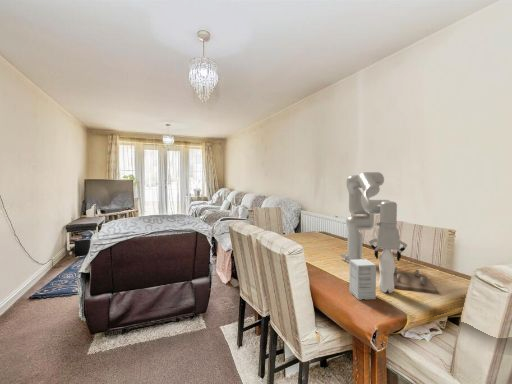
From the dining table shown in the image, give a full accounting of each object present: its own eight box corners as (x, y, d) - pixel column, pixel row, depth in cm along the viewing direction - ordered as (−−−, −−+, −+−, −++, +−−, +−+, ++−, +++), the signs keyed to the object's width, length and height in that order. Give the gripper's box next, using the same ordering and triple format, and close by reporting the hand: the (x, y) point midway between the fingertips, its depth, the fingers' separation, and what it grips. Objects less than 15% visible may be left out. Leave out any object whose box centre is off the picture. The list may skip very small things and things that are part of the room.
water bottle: (375, 288, 133) (376, 241, 131) (388, 287, 133) (389, 241, 132) (383, 294, 126) (384, 245, 124) (397, 293, 126) (398, 244, 125)
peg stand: (389, 287, 134) (389, 277, 133) (383, 272, 154) (383, 263, 154) (438, 293, 126) (438, 283, 126) (425, 277, 147) (425, 267, 146)
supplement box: (376, 299, 121) (377, 265, 120) (357, 300, 120) (358, 265, 119) (365, 290, 130) (366, 258, 129) (348, 291, 130) (349, 259, 129)
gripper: (369, 226, 127) (369, 259, 128) (409, 228, 121) (408, 263, 122) (368, 223, 134) (368, 255, 135) (405, 225, 128) (405, 258, 129)
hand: (387, 259), depth 128 cm, fingers open, 9 cm apart
